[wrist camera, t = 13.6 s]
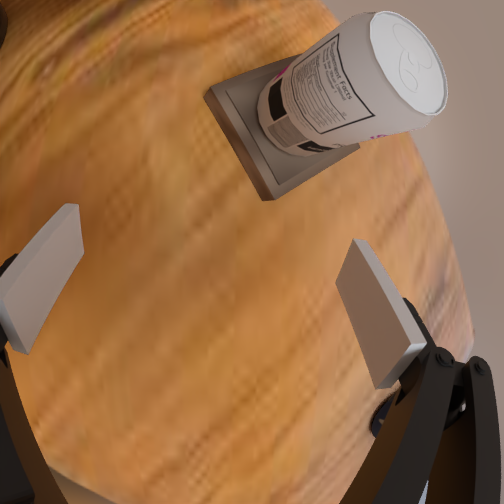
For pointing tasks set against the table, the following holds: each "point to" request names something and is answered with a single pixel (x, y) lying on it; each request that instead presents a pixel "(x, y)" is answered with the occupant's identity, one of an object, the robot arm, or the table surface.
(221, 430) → the table surface
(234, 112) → the stand
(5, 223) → the table surface
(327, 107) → the supplement can
